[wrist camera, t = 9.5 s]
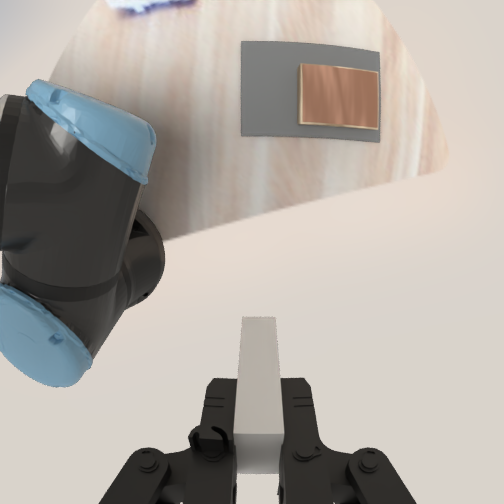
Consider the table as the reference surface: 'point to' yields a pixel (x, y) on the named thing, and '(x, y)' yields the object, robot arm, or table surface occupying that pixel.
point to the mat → (293, 87)
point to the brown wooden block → (337, 96)
